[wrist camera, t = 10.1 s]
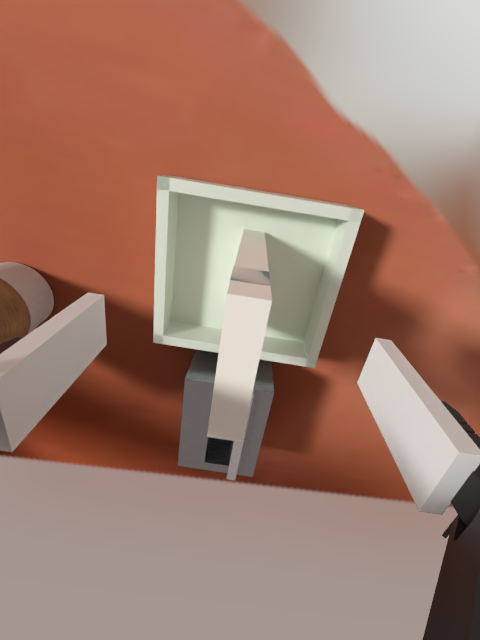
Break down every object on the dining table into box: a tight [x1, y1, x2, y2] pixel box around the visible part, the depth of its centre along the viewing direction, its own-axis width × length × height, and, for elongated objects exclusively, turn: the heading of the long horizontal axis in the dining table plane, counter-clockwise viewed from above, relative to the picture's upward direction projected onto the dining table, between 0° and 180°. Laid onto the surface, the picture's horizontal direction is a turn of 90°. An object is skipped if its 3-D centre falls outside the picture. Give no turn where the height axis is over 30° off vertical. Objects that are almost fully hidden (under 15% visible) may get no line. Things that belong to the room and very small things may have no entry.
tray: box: [153, 175, 364, 368], centre depth 24 cm, size 14×13×4 cm
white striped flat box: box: [207, 229, 272, 442], centre depth 18 cm, size 2×7×14 cm, turn 171°
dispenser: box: [178, 349, 274, 480], centre depth 28 cm, size 7×10×7 cm
